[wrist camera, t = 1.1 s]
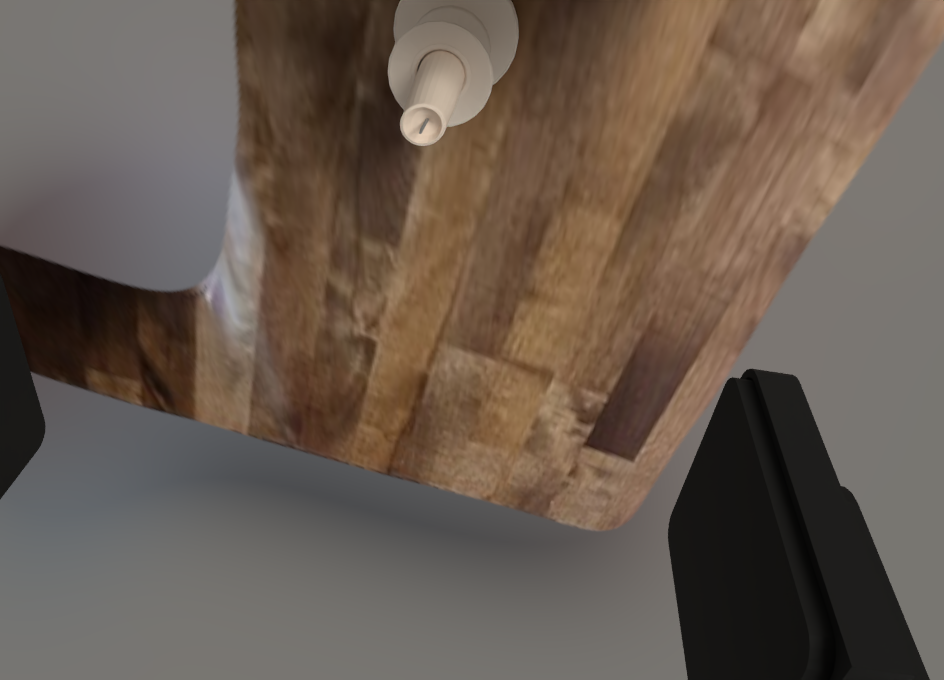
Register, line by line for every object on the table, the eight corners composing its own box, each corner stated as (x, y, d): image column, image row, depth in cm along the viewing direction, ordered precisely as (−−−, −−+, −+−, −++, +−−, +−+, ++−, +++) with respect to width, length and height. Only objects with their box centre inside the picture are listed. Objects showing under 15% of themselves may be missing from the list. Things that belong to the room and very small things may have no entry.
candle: (537, -10, 31) (526, 84, 23) (495, 108, 34) (472, 227, 26) (413, -57, 30) (357, 23, 22) (382, 68, 34) (323, 177, 26)
